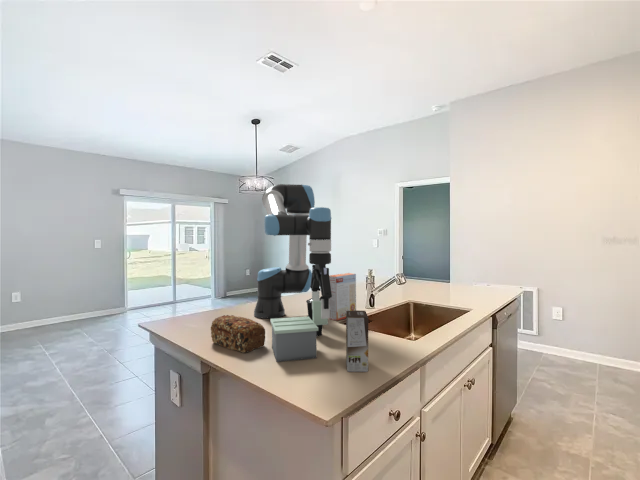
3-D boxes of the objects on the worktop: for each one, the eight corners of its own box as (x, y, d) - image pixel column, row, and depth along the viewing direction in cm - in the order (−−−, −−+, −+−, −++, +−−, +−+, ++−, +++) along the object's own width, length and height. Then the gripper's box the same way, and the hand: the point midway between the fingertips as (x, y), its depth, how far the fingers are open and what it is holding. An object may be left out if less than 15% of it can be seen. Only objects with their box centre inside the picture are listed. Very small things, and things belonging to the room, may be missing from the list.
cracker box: (347, 313, 165) (347, 272, 165) (356, 316, 161) (356, 273, 161) (327, 318, 156) (327, 274, 156) (336, 321, 151) (336, 276, 151)
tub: (271, 347, 117) (271, 321, 116) (307, 344, 120) (307, 319, 120) (276, 361, 103) (276, 333, 103) (316, 358, 106) (316, 330, 106)
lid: (270, 321, 117) (270, 299, 117) (321, 318, 121) (321, 296, 121) (274, 334, 102) (274, 308, 102) (333, 329, 107) (333, 305, 107)
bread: (210, 344, 120) (209, 317, 120) (233, 336, 129) (233, 311, 129) (243, 355, 109) (243, 325, 109) (266, 346, 118) (266, 318, 118)
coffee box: (369, 372, 95) (369, 317, 95) (347, 372, 96) (347, 317, 95) (365, 360, 104) (365, 310, 104) (345, 359, 105) (345, 310, 104)
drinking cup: (323, 338, 126) (323, 286, 126) (304, 337, 128) (304, 286, 127) (327, 332, 134) (327, 283, 133) (308, 331, 135) (308, 283, 135)
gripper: (302, 250, 124) (302, 306, 125) (318, 254, 100) (318, 323, 100) (321, 250, 126) (321, 305, 126) (341, 254, 102) (341, 321, 102)
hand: (320, 313), depth 113 cm, fingers open, 13 cm apart
